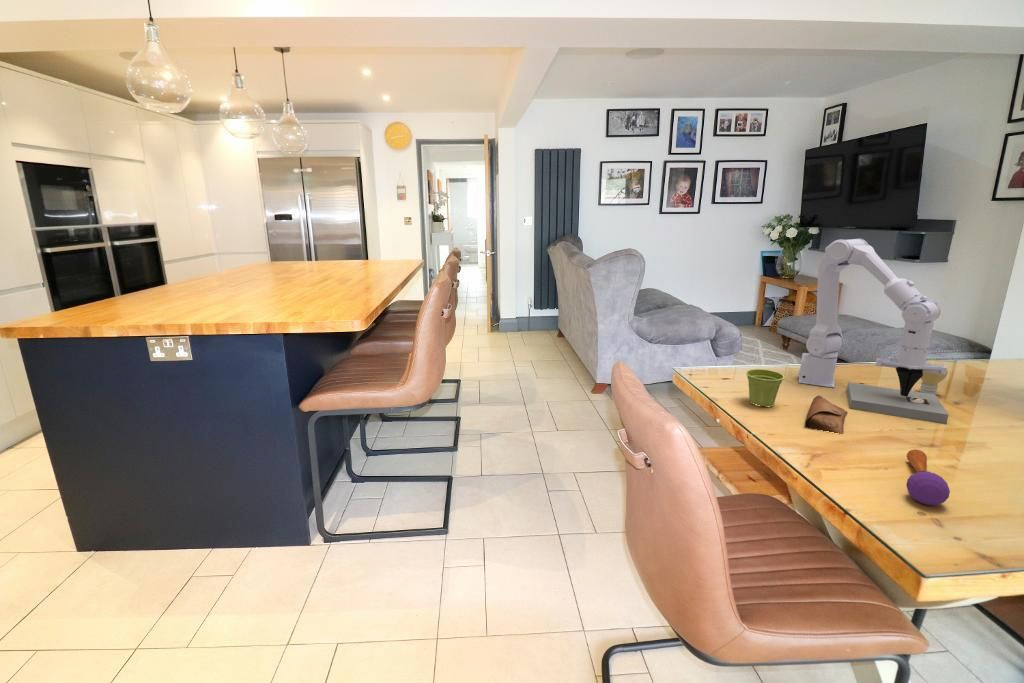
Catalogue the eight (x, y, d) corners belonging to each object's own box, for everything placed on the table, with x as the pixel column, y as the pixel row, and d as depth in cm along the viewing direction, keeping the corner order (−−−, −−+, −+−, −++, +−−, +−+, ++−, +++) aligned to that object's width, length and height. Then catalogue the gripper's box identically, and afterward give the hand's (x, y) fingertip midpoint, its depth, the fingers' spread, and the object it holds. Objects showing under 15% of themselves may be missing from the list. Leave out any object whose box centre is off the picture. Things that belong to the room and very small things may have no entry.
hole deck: (850, 408, 131) (851, 399, 130) (846, 390, 144) (848, 382, 143) (946, 423, 121) (948, 414, 120) (933, 402, 134) (935, 394, 133)
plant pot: (765, 412, 128) (769, 382, 126) (735, 401, 137) (738, 372, 134) (787, 406, 133) (792, 376, 130) (757, 395, 141) (760, 367, 139)
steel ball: (914, 412, 129) (907, 401, 129) (912, 408, 131) (905, 398, 132) (928, 406, 127) (921, 396, 127) (925, 403, 130) (918, 392, 130)
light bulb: (931, 390, 143) (938, 358, 141) (947, 398, 137) (955, 364, 135) (908, 389, 144) (915, 357, 141) (923, 397, 138) (931, 364, 135)
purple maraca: (940, 451, 100) (958, 488, 83) (927, 475, 101) (943, 517, 85) (905, 438, 102) (916, 472, 86) (893, 462, 104) (902, 500, 88)
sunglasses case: (845, 436, 115) (832, 410, 115) (814, 443, 119) (801, 418, 119) (848, 411, 129) (836, 388, 129) (819, 418, 133) (808, 396, 133)
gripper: (881, 346, 127) (872, 394, 131) (953, 354, 120) (942, 404, 123) (878, 340, 133) (869, 386, 137) (947, 347, 126) (936, 396, 129)
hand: (903, 394), depth 130 cm, fingers closed
